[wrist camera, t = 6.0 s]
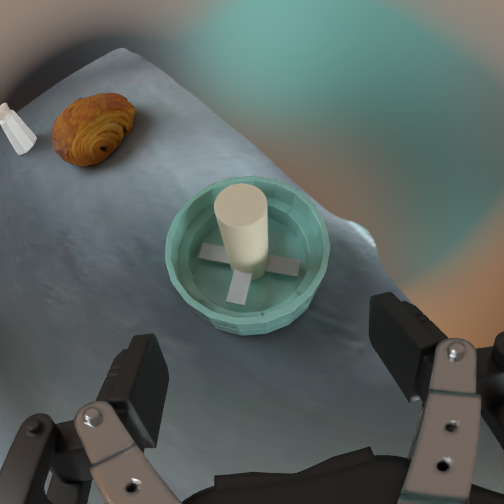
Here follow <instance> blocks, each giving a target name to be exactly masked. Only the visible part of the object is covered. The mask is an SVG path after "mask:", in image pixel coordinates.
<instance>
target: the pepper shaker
mask: <svg viewBox="0 0 504 504" xmlns="http://www.w3.org/2000/svg"><path fill="white" fill-rule="evenodd" d="M0 125H1V127H2V128H3V130H4V132H5V134H6V135H7V137H8V139H9V141H10V142H11V144H12V146H13V147H14V149H15V151H16V152H17V153H18V155H22V154H24V153H27V152H28V151H29V150H30V149H31V148H32V147H33V146H34V144H35V142H36V139H37V137H36V136H35V135H34V134H33V132H32V131H31V130H30V129H29V128H28V127H27V126H26V124H25V123H24V122H23V121H22V120H21V119H20V117H19V116H18V115H17V114H16V113H15V112H14V111H13V110H10V109H9V107H8V106H7V103H3V104H1V105H0Z"/></svg>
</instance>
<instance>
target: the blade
mask: <svg viewBox="0 0 504 504" xmlns="http://www.w3.org/2000/svg"><path fill="white" fill-rule="evenodd" d="M214 211H215V215H216V218H217V222H218V225H219V229H220V232H221V236H222V239H223V243H224V246H219V245H214V244H208V243H203V244H202V247H201V251H200V254H199V257H198V258H199V259H203V260H208V261H214V262H219V263H224V264H229V265H230V267H231V270H232V272H233V277H232V281H231V285H230V288H229V292H228V296H227V300H226V302H227V303H231V304H236V305H241V306H245V304H246V300H247V296H248V292H249V288H250V284H251V281H253V280H257V279H259V278H260V277H262V276H263V275H264V274H265V273H266V272H271V273H277V274H282V275H288V276H293V277H298V273H299V267H300V261H301V260H296V259H291V258H285V257H280V256H274V255H269V254H268V214H267V199H266V197H265V195H264V193H263V192H262V191H261V190H260V189H259V188H257V187H256V186H253V185H250V184H245V183H239V184H234V185H231V186H228V187H227V188H225V189H224V190H222V191H221V192H220V193H219V194H218V196H217V198H216V200H215V203H214Z"/></svg>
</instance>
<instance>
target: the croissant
mask: <svg viewBox="0 0 504 504" xmlns="http://www.w3.org/2000/svg"><path fill="white" fill-rule="evenodd" d="M134 113H135V108H134V106H133V105H132V104H131V103H130V102H128V100H127V98H125V97H124V96H122V95H120V94H116V93H107V94H97V95H93V96H90V97H87V98H83V99H82V98H80V99H78V100H77V101H75V102H74V103H73V104H71V105H70V106H69V107H68V108H67V109H65V110H63V112H62V113H61V115H60V116H59V117H58V118H57V119H56V121H55V122H54V124H53V129H52V141H53V147H54V150H55V152H56V153H57V154H59V155H60V157H61V158H62V159H63V160H64V161H66V162H68V163H71V164H74V165H79V166H87V165H93V164H97V163H100V162H101V161H103V160H105V159H106V158H107V157H108V156H109V155H110V154H111V153H112V152H113V151H114V150H115V148H116V147H118V146H119V145H120V142H121V141H122V139H123V137H125V136H126V135H128V134H129V133H130V131H131V129H132V128H133V123H134V121H133V120H134Z"/></svg>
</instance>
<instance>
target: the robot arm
mask: <svg viewBox="0 0 504 504" xmlns="http://www.w3.org/2000/svg"><path fill="white" fill-rule="evenodd" d="M369 337H370V341H371V344H372V346H373V348H374V349H375V351H376V352H377V354H378V355H379V357H380V358H381V360H382V361H383V363H384V364H385V366H386V367H387V369H388V370H389V372H390V373H391V375H392V377H393V378H394V380H395V381H396V383H397V384H398V386H399V387H400V389H401V390H402V392H403V394H404V395H405V397H406V398H407V400H408V401H409V403H410V402H412V401H415V400H418V399H421V400H422V402H423V404H422V408H421V412H420V416H419V419H418V423H417V427H416V431H415V434H414V438H413V441H412V444H411V448H410V451H409V454H408V456H407V458H404V457H398V456H390V455H377V456H374V455H373V452H372V450H371V448H370V446H369V447H366V448H363V449H360V450H356V451H353V452H349V453H346V454H342V455H338V456H334V457H332V458H330V459H328V460H325V461H323V462H321V463H319V464H317V465H315V466H312V467H310V468H308V469H305V470H303V471H301V472H298V473H294V474H284V473H262V472H248V473H239V474H229V475H217V476H214V486H212V487H209V488H206V489H204V490H201V491H199V492H197V493H195V494H193V495H192V496H190V497H188V498H187V499H185V500H184V501H183V502H182V503H181V501H180V500H179V499H178V498H177V497H176V495H175V494H174V493H173V492H172V491H171V489H170V488H169V487H168V486H167V485H166V483H165V482H164V481H163V480H162V478H161V477H160V476H159V474H158V473H157V472H156V471H155V469H154V468H153V467H152V465H151V464H150V463H149V461H148V460H147V458H146V457H145V456H144V454H143V453H144V448H156V446H157V440H158V434H159V429H160V424H161V418H162V413H163V408H164V403H165V398H166V393H167V388H168V383H169V373H168V368H167V365H166V362H165V360H164V357H163V354H162V352H161V349H160V346H159V343H158V341H157V338H156V336H155V335H154V334H144V335H135V336H133V338H132V340H131V343H130V345H129V347H128V349H125V350H122V351H121V352H120V353H119V354H118V355H117V356H116V357H115V359H114V361H113V363H112V365H111V367H110V368H111V369H110V370H109V372H108V374H107V377H106V379H105V381H104V383H103V385H102V388H101V390H100V392H99V395H98V397H97V399H96V401H95V402H91V403H88V404H86V405H84V406H83V407H82V408H80V409H79V410H78V412H77V413H76V415H75V417H74V420H72V421H68V422H63V423H58V424H55V423H54V421H53V420H52V419H51V417H50V416H49V415H47V414H43V413H39V414H35V415H32V416H30V417H29V418H27V419H26V420H25V421H24V422H23V423H22V425H21V427H20V429H19V431H18V433H17V435H16V437H15V439H14V441H13V443H12V446H11V448H10V450H9V452H8V454H7V457H6V459H5V461H4V464H3V466H2V468H1V471H0V504H87V502H88V497H89V492H90V487H91V483H92V479H94V481H95V483H96V485H97V487H98V488H99V490H100V492H101V494H102V496H103V498H104V500H105V502H106V503H107V504H504V494H501V493H498V492H494V491H491V490H488V489H485V488H482V487H479V486H477V485H474V484H472V479H473V473H474V467H475V460H476V453H477V446H478V437H479V426H480V414H481V416H482V417H483V419H484V420H485V422H486V423H487V425H488V426H489V428H490V429H491V431H492V432H493V434H494V436H495V437H496V439H497V440H498V442H499V443H500V445H501V446H502V448H503V450H504V332H501V333H500V334H498V335H497V336H496V339H495V342H494V346H492V347H485V348H478V349H475V347H474V346H473V345H472V344H471V343H470V342H468V341H466V340H464V339H460V338H448V337H447V336H446V335H445V334H444V333H443V332H442V331H441V330H440V329H439V328H438V327H437V326H436V325H435V324H434V323H433V322H432V321H429V318H428V317H426V315H423V313H422V312H421V311H420V310H419V309H418V308H417V307H416V306H414V305H412V304H410V303H408V302H406V301H403V302H401V301H400V300H399V299H398V298H397V297H396V296H395V295H394V294H393V293H391V292H386V293H382V294H378V295H373V296H371V298H370V313H369ZM49 470H50V471H51V472H52V473H53V475H52V478H51V481H50V485H49V488H48V491H47V495H45V492H44V485H45V481H46V478H47V475H48V472H49Z"/></svg>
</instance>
